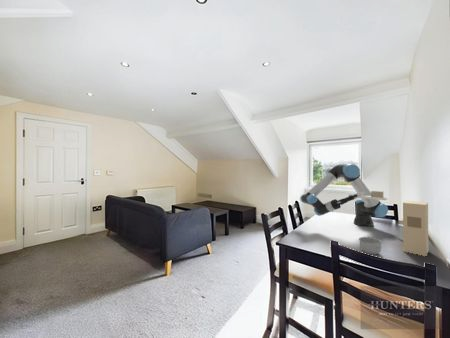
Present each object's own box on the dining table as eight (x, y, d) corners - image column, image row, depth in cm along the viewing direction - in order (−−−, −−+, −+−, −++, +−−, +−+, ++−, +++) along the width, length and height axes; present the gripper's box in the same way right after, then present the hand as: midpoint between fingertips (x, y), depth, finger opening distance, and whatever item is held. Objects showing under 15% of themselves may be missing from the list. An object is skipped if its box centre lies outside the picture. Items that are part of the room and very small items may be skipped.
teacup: (380, 258, 112) (380, 244, 112) (357, 252, 119) (357, 239, 120) (382, 250, 123) (382, 237, 123) (361, 246, 130) (361, 234, 130)
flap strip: (350, 196, 151) (350, 189, 151) (387, 199, 134) (387, 191, 134) (348, 196, 148) (348, 189, 148) (385, 200, 131) (385, 192, 131)
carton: (406, 246, 129) (406, 200, 129) (428, 251, 121) (427, 202, 122) (403, 251, 121) (402, 202, 122) (426, 256, 114) (425, 204, 114)
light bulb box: (419, 244, 133) (419, 228, 133) (407, 243, 134) (407, 227, 134) (408, 239, 143) (408, 224, 144) (397, 238, 145) (397, 223, 145)
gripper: (339, 208, 162) (369, 196, 147) (331, 211, 151) (362, 198, 136) (335, 200, 165) (363, 187, 150) (326, 201, 154) (356, 188, 139)
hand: (363, 193), depth 143 cm, fingers closed on flap strip, 4 cm apart
